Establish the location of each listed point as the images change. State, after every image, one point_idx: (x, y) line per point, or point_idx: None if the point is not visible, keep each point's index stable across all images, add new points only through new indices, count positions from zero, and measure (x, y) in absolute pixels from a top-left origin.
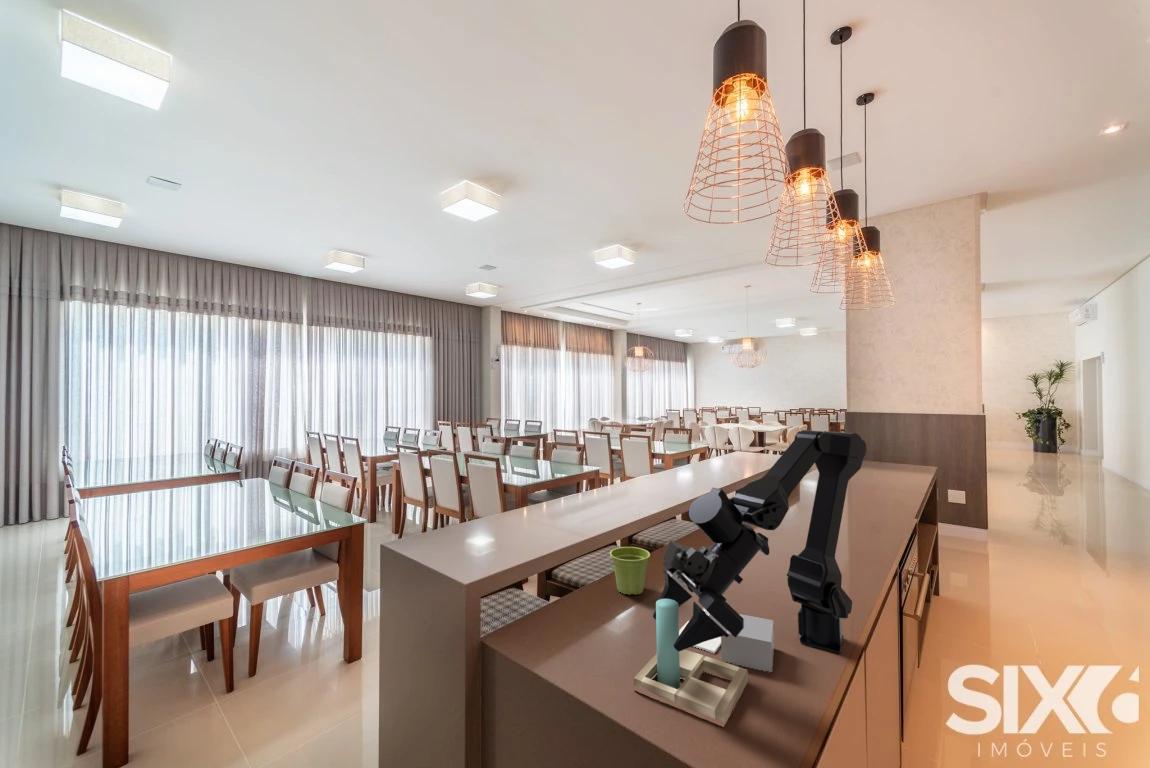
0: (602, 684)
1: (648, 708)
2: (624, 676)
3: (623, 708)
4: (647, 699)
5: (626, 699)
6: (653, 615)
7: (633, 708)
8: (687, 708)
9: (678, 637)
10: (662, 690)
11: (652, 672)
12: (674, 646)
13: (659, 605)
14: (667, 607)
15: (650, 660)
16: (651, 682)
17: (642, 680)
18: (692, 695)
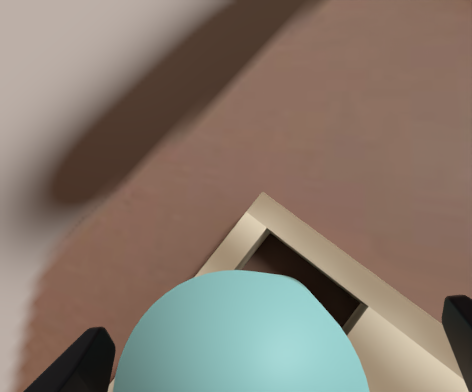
0: (302, 118)
1: (194, 227)
2: (338, 182)
3: (201, 164)
4: (229, 232)
5: (234, 175)
6: (461, 298)
7: (198, 189)
8: None
9: (65, 368)
10: (200, 271)
11: (314, 265)
12: (88, 329)
13: (202, 299)
14: (147, 378)
15: (364, 268)
16: (234, 243)
17: (249, 217)
18: None
